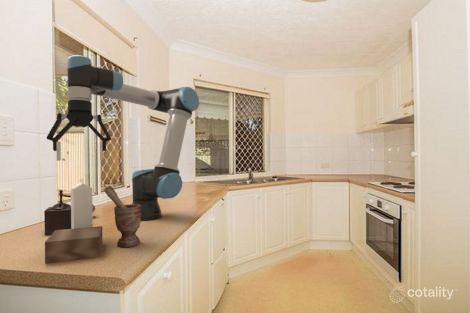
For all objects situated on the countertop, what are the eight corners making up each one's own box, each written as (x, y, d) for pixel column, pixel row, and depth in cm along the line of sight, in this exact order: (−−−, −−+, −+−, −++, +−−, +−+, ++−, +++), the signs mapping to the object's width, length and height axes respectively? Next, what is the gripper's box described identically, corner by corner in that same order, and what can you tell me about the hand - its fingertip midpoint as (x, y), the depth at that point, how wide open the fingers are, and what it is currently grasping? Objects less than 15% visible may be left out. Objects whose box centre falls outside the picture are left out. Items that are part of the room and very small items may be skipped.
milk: (74, 244, 101) (72, 180, 100) (71, 240, 106) (70, 178, 105) (93, 240, 104) (92, 178, 104) (89, 236, 109) (88, 177, 109)
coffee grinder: (43, 236, 111) (42, 188, 111) (48, 229, 121) (47, 185, 121) (88, 231, 117) (88, 186, 117) (90, 225, 127) (89, 184, 127)
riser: (102, 243, 101) (102, 226, 101) (99, 256, 88) (99, 236, 88) (55, 248, 96) (55, 230, 96) (45, 263, 83) (44, 242, 83)
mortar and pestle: (104, 251, 93) (104, 188, 93) (104, 243, 101) (104, 185, 101) (142, 246, 98) (142, 186, 97) (139, 239, 105) (139, 183, 105)
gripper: (117, 104, 112) (118, 159, 113) (41, 100, 103) (42, 160, 104) (117, 100, 105) (118, 160, 106) (35, 96, 96) (36, 161, 97)
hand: (80, 160), depth 105 cm, fingers open, 13 cm apart
